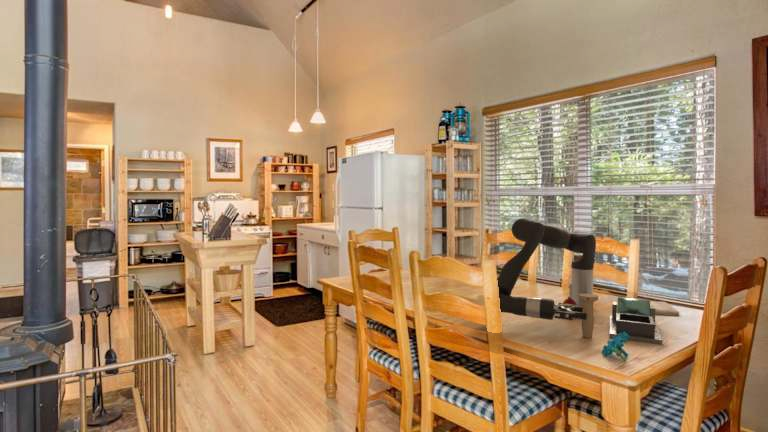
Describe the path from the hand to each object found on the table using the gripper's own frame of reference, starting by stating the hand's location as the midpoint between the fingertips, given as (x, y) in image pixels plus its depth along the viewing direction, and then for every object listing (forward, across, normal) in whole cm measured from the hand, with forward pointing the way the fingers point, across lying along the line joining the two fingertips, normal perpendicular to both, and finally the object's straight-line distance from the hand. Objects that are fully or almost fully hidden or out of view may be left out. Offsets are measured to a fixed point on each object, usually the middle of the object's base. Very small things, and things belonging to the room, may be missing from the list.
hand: (587, 313), depth 162 cm
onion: (-8, +28, +9) cm, 30 cm away
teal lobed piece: (+9, -17, +9) cm, 21 cm away
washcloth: (+25, +55, +9) cm, 61 cm away
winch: (+15, +17, +9) cm, 24 cm away
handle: (0, 0, +9) cm, 9 cm away
